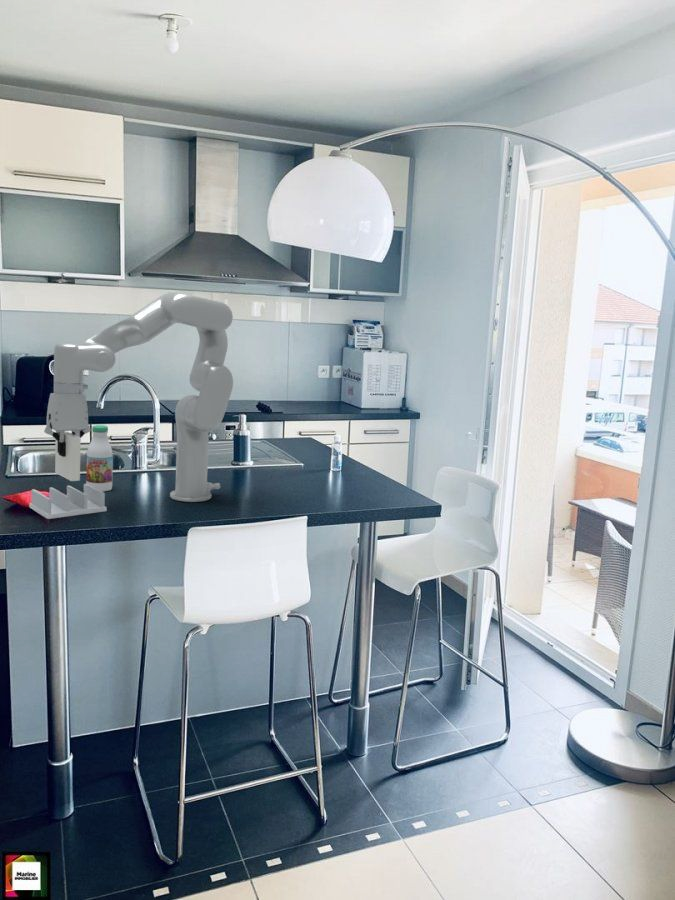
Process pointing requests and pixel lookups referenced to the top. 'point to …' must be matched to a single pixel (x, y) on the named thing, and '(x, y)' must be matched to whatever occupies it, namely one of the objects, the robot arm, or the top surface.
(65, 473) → the plate
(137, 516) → the top surface
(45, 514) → the dish rack
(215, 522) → the top surface
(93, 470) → the milk bottle
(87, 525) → the top surface
